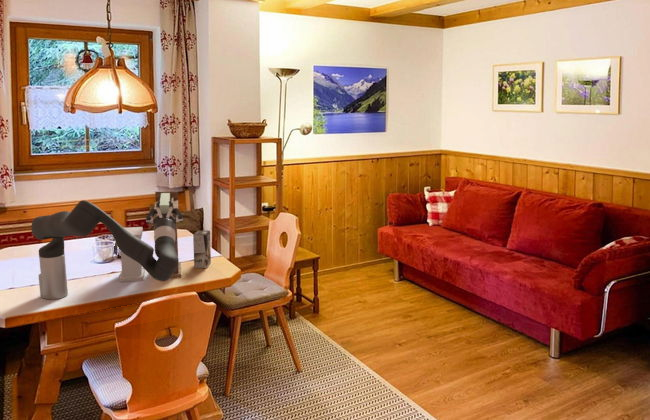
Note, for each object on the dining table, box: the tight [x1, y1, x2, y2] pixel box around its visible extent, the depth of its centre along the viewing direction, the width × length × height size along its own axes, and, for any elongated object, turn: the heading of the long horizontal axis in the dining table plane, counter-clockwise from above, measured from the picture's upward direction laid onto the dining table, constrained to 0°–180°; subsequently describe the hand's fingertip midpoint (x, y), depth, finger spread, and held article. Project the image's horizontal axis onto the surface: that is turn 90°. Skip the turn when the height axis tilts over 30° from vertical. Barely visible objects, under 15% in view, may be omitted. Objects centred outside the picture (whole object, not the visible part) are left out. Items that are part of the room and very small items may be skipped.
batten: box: [160, 193, 170, 214], centre depth 232 cm, size 26×4×4 cm, turn 14°
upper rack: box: [153, 190, 182, 279], centre depth 261 cm, size 20×10×36 cm, turn 14°
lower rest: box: [118, 226, 146, 283], centre depth 256 cm, size 14×10×21 cm
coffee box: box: [192, 230, 212, 269], centre depth 274 cm, size 9×6×16 cm
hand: (164, 203), depth 225 cm, fingers closed on batten, 3 cm apart
